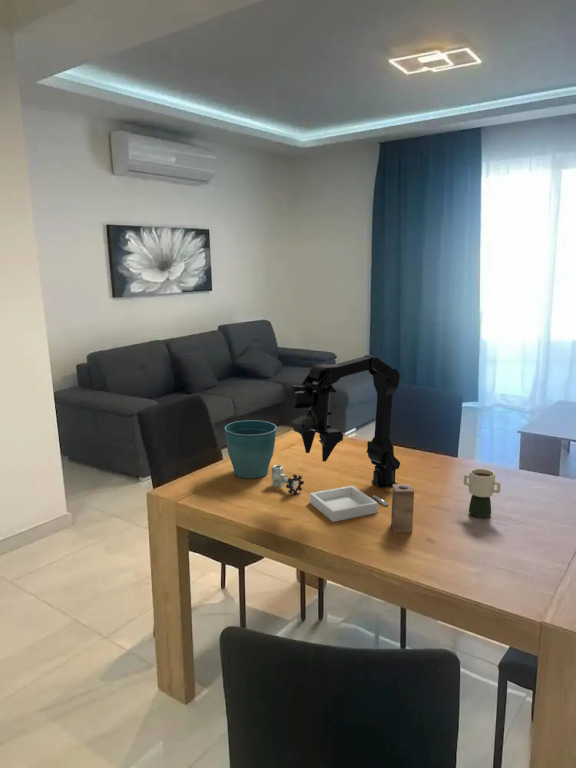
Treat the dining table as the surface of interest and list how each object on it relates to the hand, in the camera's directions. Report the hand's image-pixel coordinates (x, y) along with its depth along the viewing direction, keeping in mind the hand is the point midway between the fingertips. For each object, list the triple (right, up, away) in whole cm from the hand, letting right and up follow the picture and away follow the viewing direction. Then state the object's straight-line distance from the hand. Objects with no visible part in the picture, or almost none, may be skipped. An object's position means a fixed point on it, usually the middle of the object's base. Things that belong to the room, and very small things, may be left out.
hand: (315, 457), depth 177 cm
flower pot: (-21, -9, +27) cm, 36 cm away
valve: (-10, -12, +13) cm, 21 cm away
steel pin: (+21, -14, +3) cm, 25 cm away
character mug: (+48, -16, -7) cm, 51 cm away
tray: (+8, -15, -2) cm, 17 cm away
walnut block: (+23, -18, -16) cm, 33 cm away
